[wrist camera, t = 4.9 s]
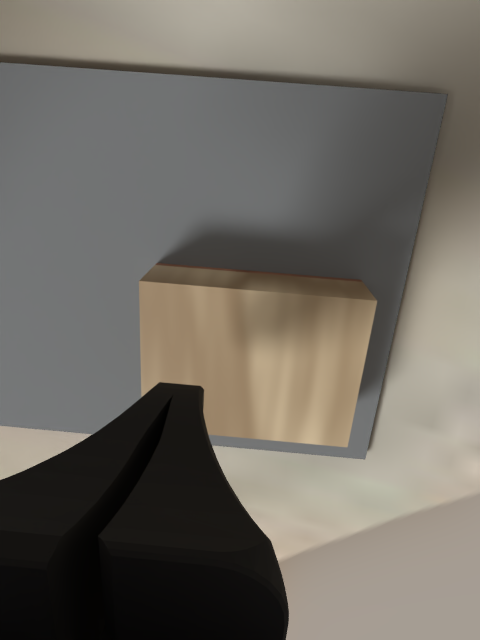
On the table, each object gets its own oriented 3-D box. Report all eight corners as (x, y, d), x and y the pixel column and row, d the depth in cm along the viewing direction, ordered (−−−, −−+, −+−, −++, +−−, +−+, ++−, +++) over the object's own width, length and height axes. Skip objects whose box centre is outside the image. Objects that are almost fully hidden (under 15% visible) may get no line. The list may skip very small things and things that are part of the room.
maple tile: (142, 428, 16) (347, 447, 16) (139, 281, 14) (377, 300, 14) (157, 394, 19) (336, 410, 18) (156, 263, 16) (361, 279, 16)
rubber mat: (-53, 415, 20) (-58, 420, 20) (-134, 54, 15) (-145, 51, 14) (363, 453, 20) (365, 459, 19) (442, 95, 14) (447, 94, 14)
